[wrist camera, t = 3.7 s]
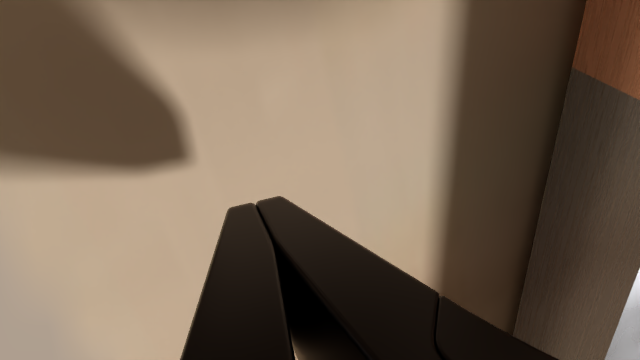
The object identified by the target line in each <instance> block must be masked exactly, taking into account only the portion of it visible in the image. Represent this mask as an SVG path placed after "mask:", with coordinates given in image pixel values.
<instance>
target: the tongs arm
mask: <svg viewBox="0 0 640 360" xmlns="http://www.w3.org/2000/svg"><path fill="white" fill-rule="evenodd" d="M513 336H514V337H516V338H518V339H520V340H522V341H524V342H526V343H528V344H529V345H531V346H533V347H535V348H537V349H539V350H541V351H543V352H545V353H547V354H549V355H551V356H553V357H555V358H557V359H559V360H640V0H587V1H586V6H585V10H584V15H583V19H582V24H581V28H580V33H579V38H578V42H577V47H576V51H575V56H574V60H573V65H572V69H571V74H570V78H569V83H568V87H567V92H566V96H565V101H564V106H563V110H562V115H561V119H560V124H559V128H558V133H557V137H556V142H555V146H554V151H553V155H552V160H551V164H550V169H549V174H548V178H547V183H546V187H545V192H544V196H543V201H542V205H541V210H540V214H539V219H538V223H537V228H536V232H535V237H534V242H533V246H532V251H531V255H530V260H529V264H528V269H527V273H526V278H525V282H524V287H523V291H522V296H521V300H520V305H519V310H518V314H517V319H516V323H515V328H514V332H513Z"/></svg>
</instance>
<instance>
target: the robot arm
mask: <svg viewBox="0 0 640 360" xmlns="http://www.w3.org/2000/svg"><path fill="white" fill-rule="evenodd" d="M293 348H294V350H293ZM294 351H295V353H296V355H297V358H298V360H559V359H557V358H555V357H553V356H551V355H549V354H547V353H545V352H543V351H541V350H539V349H537V348H535V347H533V346H531V345H529V344H528V343H526V342H524V341H522V340H520V339H518V338H516V337H514V336H512V335H510V334H508V333H506V332H504V331H503V330H501V329H499V328H497V327H495V326H494V325H492V324H490V323H488V322H487V321H485V320H483V319H482V318H480V317H478V316H476V315H475V314H473V313H471V312H469V311H468V310H466V309H464V308H463V307H461V306H459V305H458V304H456V303H455V302H453V301H451V300H450V299H448V298H446V297H445V296H440V298H439V293H438V292H436V291H435V290H433V289H431V288H430V287H428V286H427V285H425V284H423V283H422V282H420V281H418V280H417V279H415V278H414V277H412V276H410V275H409V274H407V273H405V272H404V271H402V270H401V269H399V268H397V267H396V266H394V265H392V264H391V263H389V262H388V261H386V260H384V259H383V258H381V257H379V256H378V255H376V254H375V253H373V252H371V251H370V250H368V249H366V248H365V247H363V246H362V245H360V244H358V243H357V242H355V241H353V240H352V239H350V238H349V237H347V236H345V235H344V234H342V233H340V232H339V231H337V230H336V229H334V228H332V227H331V226H329V225H328V224H326V223H324V222H323V221H321V220H319V219H318V218H316V217H315V216H313V215H311V214H310V213H308V212H306V211H305V210H303V209H302V208H300V207H298V206H297V205H295V204H293V203H292V202H290V201H289V200H287V199H285V198H284V197H281V196H277V197H273V198H269V199H264V200H260V201H258V202H257V203H256V205H255V204H253V203H248V204H243V205H239V206H235V207H231V208H229V209H228V211H227V213H226V217H225V220H224V223H223V226H222V229H221V232H220V236H219V239H218V242H217V245H216V248H215V251H214V254H213V258H212V261H211V264H210V267H209V270H208V273H207V277H206V280H205V283H204V286H203V289H202V292H201V295H200V299H199V302H198V305H197V308H196V311H195V314H194V317H193V321H192V324H191V327H190V330H189V333H188V336H187V340H186V343H185V346H184V349H183V352H182V355H181V358H180V360H295V355H294Z"/></svg>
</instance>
